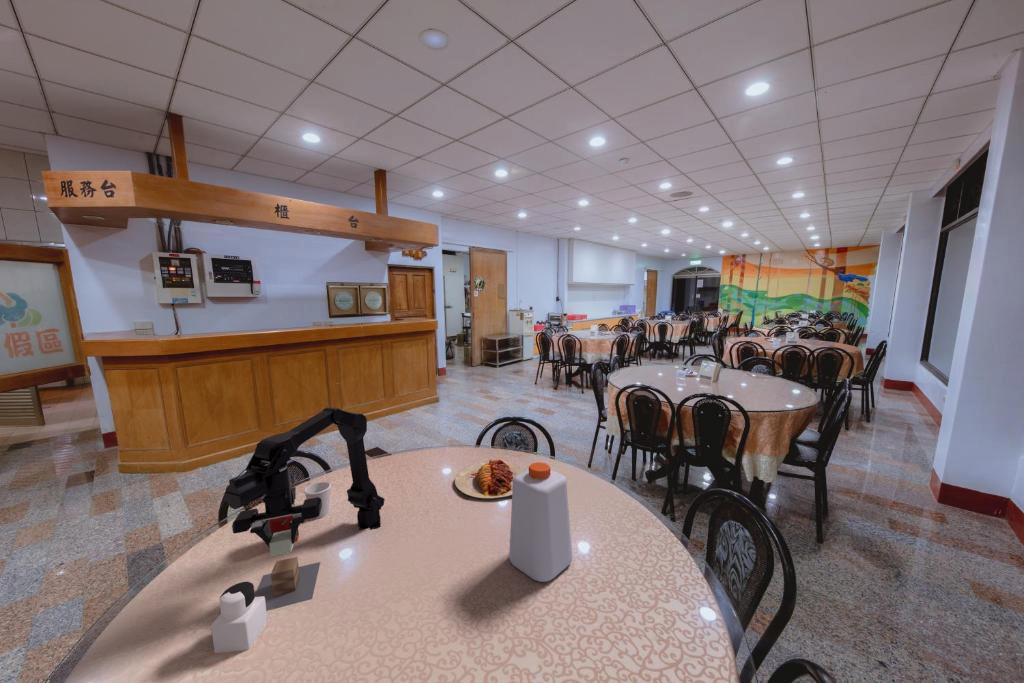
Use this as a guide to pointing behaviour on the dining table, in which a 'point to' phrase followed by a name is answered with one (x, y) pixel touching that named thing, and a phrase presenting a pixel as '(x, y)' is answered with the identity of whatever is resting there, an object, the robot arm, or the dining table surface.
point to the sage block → (281, 543)
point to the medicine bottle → (238, 619)
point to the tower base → (286, 586)
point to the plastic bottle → (540, 523)
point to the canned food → (282, 524)
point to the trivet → (301, 594)
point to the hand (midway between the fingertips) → (282, 545)
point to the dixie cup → (319, 495)
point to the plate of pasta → (489, 478)
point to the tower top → (284, 570)
